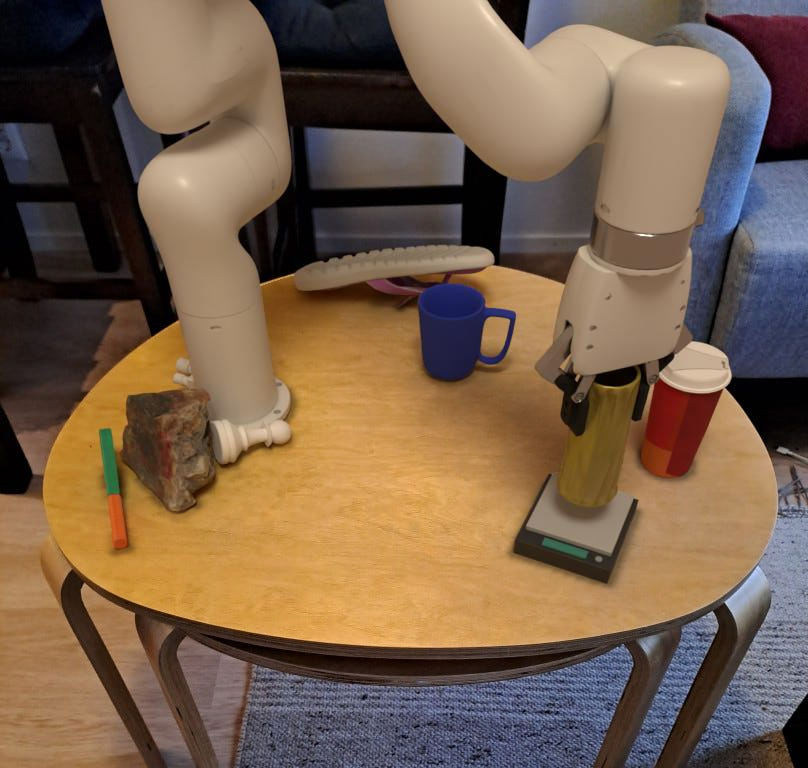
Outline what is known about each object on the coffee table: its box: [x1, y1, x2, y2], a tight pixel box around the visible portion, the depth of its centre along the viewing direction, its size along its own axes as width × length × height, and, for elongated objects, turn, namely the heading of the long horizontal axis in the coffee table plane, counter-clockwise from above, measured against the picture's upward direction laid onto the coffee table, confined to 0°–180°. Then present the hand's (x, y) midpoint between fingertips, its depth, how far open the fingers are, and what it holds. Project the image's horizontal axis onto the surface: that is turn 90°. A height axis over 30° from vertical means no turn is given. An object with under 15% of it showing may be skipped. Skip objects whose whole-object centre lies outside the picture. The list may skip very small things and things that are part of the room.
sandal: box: [293, 244, 495, 308], centre depth 115 cm, size 13×29×7 cm, turn 85°
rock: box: [118, 388, 217, 512], centre depth 89 cm, size 12×12×10 cm
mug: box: [417, 282, 517, 382], centre depth 102 cm, size 8×12×10 cm
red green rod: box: [98, 427, 128, 550], centre depth 88 cm, size 15×6×2 cm
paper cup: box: [640, 340, 733, 479], centre depth 88 cm, size 8×8×14 cm
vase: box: [556, 365, 641, 507], centre depth 77 cm, size 6×6×14 cm
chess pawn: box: [209, 419, 292, 465], centre depth 94 cm, size 5×5×9 cm
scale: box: [513, 471, 640, 584], centre depth 85 cm, size 10×11×3 cm
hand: (601, 418), depth 76 cm, fingers closed on vase, 5 cm apart
